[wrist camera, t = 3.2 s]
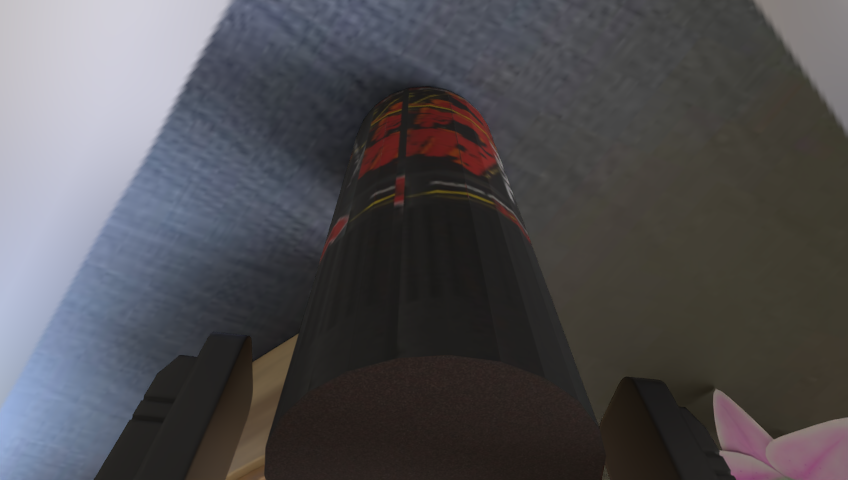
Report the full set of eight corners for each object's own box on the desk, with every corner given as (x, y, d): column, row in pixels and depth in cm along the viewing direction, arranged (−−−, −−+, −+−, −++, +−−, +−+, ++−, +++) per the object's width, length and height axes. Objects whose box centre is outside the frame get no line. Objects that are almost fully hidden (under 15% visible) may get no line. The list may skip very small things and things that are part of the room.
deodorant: (520, 161, 22) (667, 484, 9) (418, 240, 24) (420, 596, 11) (430, 54, 20) (457, 286, 7) (325, 151, 22) (191, 473, 9)
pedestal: (234, 372, 28) (176, 513, 21) (405, 265, 25) (401, 393, 18) (371, 477, 33) (359, 617, 26) (530, 401, 30) (563, 541, 23)
